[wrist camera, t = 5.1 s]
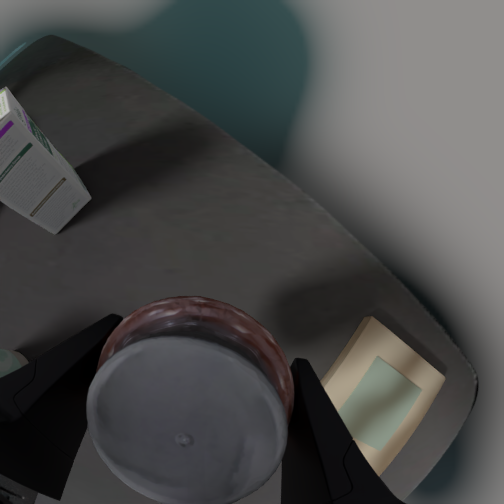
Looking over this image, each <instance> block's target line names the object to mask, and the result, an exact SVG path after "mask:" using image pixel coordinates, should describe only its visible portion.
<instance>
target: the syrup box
mask: <svg viewBox="0 0 504 504" xmlns="http://www.w3.org/2000/svg"><path fill="white" fill-rule="evenodd" d="M90 200H91V196H90V194H89V193H88V191H87V189H86V187H85V186H84V184H83V183H82V181H81V179H80V178H79V176H78V175H77V173H76V172H75V170H74V168H73V167H72V166H71V165H70V164H69V163H68V162H67V160H66V159H65V158H64V157H63V156H62V155H61V154H60V153H59V151H58V150H57V149H56V148H55V147H54V145H53V144H52V143H51V142H50V141H49V140H48V138H47V137H46V136H45V135H44V134H43V133H42V131H41V130H40V129H39V128H38V126H37V125H36V124H35V123H34V122H33V120H32V119H31V118H30V117H29V115H28V114H27V113H26V112H25V110H24V109H23V108H22V107H21V105H20V104H19V103H18V101H17V100H16V99H15V97H14V96H13V95H12V93H11V92H10V91H9V89H8V88H7V87H4V88H3V89H2V90H1V91H0V201H1V202H2V203H4V204H6V205H7V206H8V207H10V208H12V209H13V210H15V211H16V212H18V213H20V214H21V215H23V216H24V217H26V218H28V219H29V220H31V221H33V222H34V223H36V224H37V225H39V226H41V227H42V228H44V229H46V230H48V231H49V232H51V233H53V234H57V233H58V232H59V231H60V230H61V229H62V228H63V227H64V226H65V225H66V224H67V223H68V222H69V221H70V220H71V219H72V218H73V217H74V216H75V215H76V214H77V213H78V212H79V211H80V210H81V209H82V208H83V207H84V206H85V205H86V204H87V203H88V202H89V201H90Z"/></svg>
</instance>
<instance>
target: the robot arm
mask: <svg viewBox="0 0 504 504" xmlns="http://www.w3.org/2000/svg"><path fill="white" fill-rule="evenodd" d="M122 321H123V317H122V316H119V315H116V314H110V315H108V316H106V317H105V318H103V319H101V320H99V321H98V322H96V323H94V324H93V325H91V326H89V327H88V328H86V329H84V330H82V331H81V332H79V333H77V334H76V335H74V336H72V337H71V338H69V339H67V340H66V341H64V342H62V343H61V344H59V345H57V346H56V347H54V348H52V349H51V350H49V351H47V352H46V353H44V354H42V355H41V356H39V357H38V358H37V359H34V360H33V361H31V362H29V363H28V364H26V365H24V366H22V367H21V368H19V369H17V370H15V371H13V372H11V373H9V374H7V375H5V376H3V377H1V378H0V504H34V503H35V500H36V498H37V495H38V493H40V494H43V495H45V496H48V497H51V498H53V499H56V500H59V501H60V499H61V497H62V494H63V491H64V488H65V485H66V482H67V479H68V476H69V473H70V471H71V468H72V465H73V462H74V459H75V457H76V454H77V452H78V449H79V447H80V444H81V442H82V439H83V437H84V434H85V432H86V430H87V424H88V421H87V407H86V402H87V395H88V391H89V387H90V385H91V383H92V381H93V379H94V377H95V375H96V370H97V366H98V362H99V358H100V355H101V352H102V349H103V346H104V345H105V344H106V341H107V339H108V337H109V336H110V335H111V333H112V332H113V331H114V329H115V328H116V327H117V326H118V325H119V324H120V323H121V322H122ZM290 369H291V372H292V377H293V383H294V396H295V398H294V408H293V413H292V417H291V421H290V423H289V426H288V437H287V445H286V449H285V453H284V456H283V458H282V481H281V504H406V503H404V502H402V501H401V500H399V499H398V498H397V497H396V496H395V495H394V494H393V493H392V492H391V491H390V490H389V489H388V487H387V486H386V485H385V483H384V482H383V481H382V480H381V478H380V477H379V476H378V475H377V473H376V472H375V471H374V469H373V468H372V467H371V465H370V464H369V463H368V461H367V460H366V458H365V457H364V455H363V454H362V452H361V450H360V449H359V447H358V445H357V444H356V442H355V440H353V437H352V435H351V434H350V432H349V430H348V429H347V427H346V425H345V423H344V422H343V420H342V418H341V417H340V415H339V413H338V411H337V410H336V408H335V406H334V404H333V403H332V401H331V399H330V398H329V396H328V394H327V392H326V391H325V389H324V387H323V386H322V384H321V382H320V380H319V379H318V377H317V375H316V373H315V372H314V370H313V368H312V367H311V365H310V363H309V361H308V360H307V359H302V358H295V359H294V361H293V363H292V365H291V367H290Z"/></svg>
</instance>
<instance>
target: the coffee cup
mask: <svg viewBox="0 0 504 504" xmlns="http://www.w3.org/2000/svg"><path fill="white" fill-rule="evenodd" d="M28 363H29V362H28V360H27V359H26V358H25V357H24V356H23V355H22V354H21V353H19V352H17V351H11V350H5V349H0V378H1V377H3V376H5V375H7V374H9V373H11V372H13V371H15V370H17V369H19V368H21V367H22V366H24V365H26V364H28Z"/></svg>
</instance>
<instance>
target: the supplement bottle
mask: <svg viewBox="0 0 504 504" xmlns="http://www.w3.org/2000/svg"><path fill="white" fill-rule="evenodd" d="M294 398H295V396H294V383H293V377H292V372H291V369H290V366H289V364H288V361H287V359H286V356H285V354H284V352H283V351H282V349H281V348H280V346H279V344H278V343H277V341H276V340H275V338H274V337H273V336H272V335H271V333H270V332H269V331H268V330H267V329H266V328H265V327H264V326H262V325H261V324H260V323H259V322H258V321H256V320H255V319H254V318H252V317H251V316H250V315H248V314H247V313H245V312H244V311H242V310H240V309H238V308H236V307H234V306H232V305H230V304H227V303H224V302H221V301H217V300H214V299H210V298H205V297H201V296H178V297H170V298H166V299H162V300H159V301H154V302H152V303H150V304H147V305H145V306H143V307H141V308H139V309H138V310H135V311H134V312H133V313H131V314H130V315H128V316H127V317H126V318H125V319H124V320H123V321H122V322H121V323H120V324H119V325H118V326H117V327H116V328H115V329H114V331H113V332H112V333H111V335H110V336H109V337H108V339H107V341H106V344H105V345H104V346H103V349H102V352H101V355H100V358H99V362H98V366H97V370H96V375H95V377H94V379H93V381H92V383H91V385H90V387H89V391H88V395H87V402H86V407H87V421H88V424H87V428H88V431H89V433H90V435H91V438H92V441H93V444H94V446H95V448H96V450H97V452H98V454H99V456H100V457H101V458H102V460H103V461H104V462H105V463H106V465H107V466H108V467H109V469H110V470H111V471H112V472H113V473H114V474H115V475H116V476H117V477H118V478H120V479H121V480H122V481H123V482H124V483H125V484H126V485H128V486H129V487H131V488H132V489H134V490H136V491H137V492H139V493H141V494H143V495H144V496H146V497H148V498H151V499H153V500H156V501H158V502H161V503H164V504H231V503H233V502H236V501H238V500H240V499H242V498H244V497H246V496H248V495H250V494H251V493H253V492H254V491H256V490H258V489H259V488H260V487H261V486H262V485H264V483H265V482H266V481H268V480H269V478H270V477H271V476H272V475H273V474H274V472H275V471H276V469H277V468H278V466H279V464H280V463H281V461H282V458H283V456H284V453H285V449H286V445H287V437H288V426H289V423H290V421H291V417H292V413H293V408H294Z"/></svg>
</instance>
